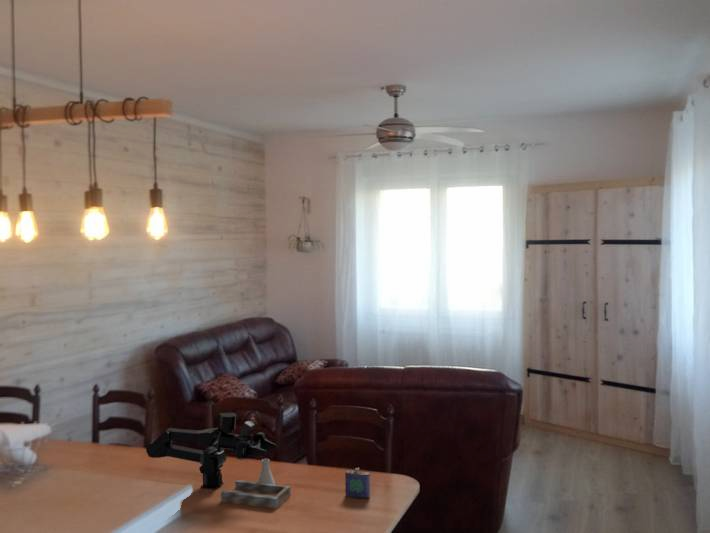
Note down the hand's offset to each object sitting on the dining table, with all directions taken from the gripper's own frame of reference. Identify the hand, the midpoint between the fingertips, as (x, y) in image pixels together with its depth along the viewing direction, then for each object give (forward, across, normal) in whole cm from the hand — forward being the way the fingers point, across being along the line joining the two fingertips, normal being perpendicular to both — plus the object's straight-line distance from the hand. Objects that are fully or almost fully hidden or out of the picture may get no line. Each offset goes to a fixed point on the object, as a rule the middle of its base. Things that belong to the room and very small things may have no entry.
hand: (271, 449), depth 236 cm
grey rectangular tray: (-2, -5, +17) cm, 18 cm away
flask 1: (-4, +7, +17) cm, 18 cm away
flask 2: (+33, +6, +13) cm, 36 cm away
